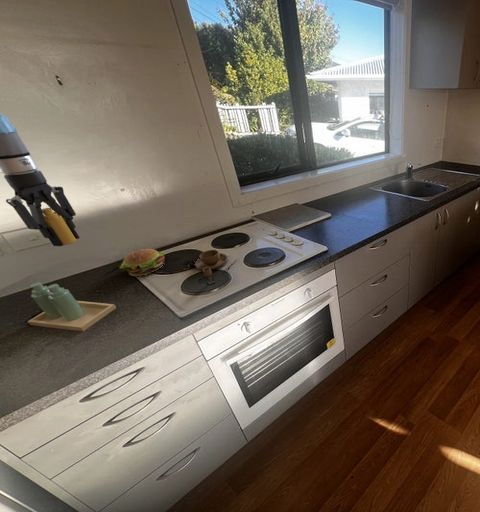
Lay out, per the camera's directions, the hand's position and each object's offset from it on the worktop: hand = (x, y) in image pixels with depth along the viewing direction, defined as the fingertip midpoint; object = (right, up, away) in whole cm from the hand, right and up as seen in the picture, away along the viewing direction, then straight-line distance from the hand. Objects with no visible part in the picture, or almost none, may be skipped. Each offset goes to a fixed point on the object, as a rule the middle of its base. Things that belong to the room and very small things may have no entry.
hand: (67, 241), depth 97 cm
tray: (+7, -24, -4) cm, 26 cm away
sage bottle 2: (+7, -24, -5) cm, 26 cm away
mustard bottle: (0, 0, 0) cm, 0 cm away
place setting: (+36, -10, +19) cm, 42 cm away
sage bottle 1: (+2, -24, -4) cm, 24 cm away
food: (+10, -10, +20) cm, 25 cm away
